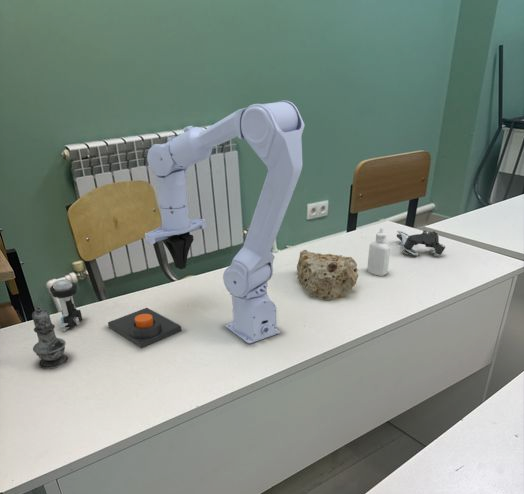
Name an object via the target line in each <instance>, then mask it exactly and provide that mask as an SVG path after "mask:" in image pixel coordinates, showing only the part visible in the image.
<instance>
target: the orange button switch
mask: <svg viewBox="0 0 524 494" xmlns="http://www.w3.org/2000/svg"><path fill="white" fill-rule="evenodd" d="M140 314H150V315H152V317H153V326H151V327H148V328H137V327H136V324H135V317H136V316H138V315H140ZM107 326H108V329H110V330H112V331H113V332H115V333H116V334H118V335H120V336H121V337H122V338H123V339H125V340H127V341H129V342H131V343H132V344H133V345H135V346H136V347H138V348H140V349H143V348H145V347H148V346H151V345H153V344H155V343H158V342H159V341H162V340H165V339H167V338H169V337H172V336H174V335H176V334H179V333H181V332H182V325H181V324H179V323H176V322H174V321H173V320H171V319H169V318H167V317H166V316H163V315H162V314H160V313H158V312H156V311H155V310H152V309H150V308H148V307H145V308H142V309H139V310H137V311H134V312H131V313H128V314H126V315H124V316H120V317H118V318H116V319H113V320H110V321H108V322H107Z"/></svg>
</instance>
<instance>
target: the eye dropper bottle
mask: <svg viewBox="0 0 524 494" xmlns="http://www.w3.org/2000/svg"><path fill="white" fill-rule="evenodd" d="M386 238H387V233H385V232H384V228H380V229H379V232H377V233H376V235H375V241H372V242H370V244H369V248H368V258H367V268H366V270H367V272H368V273H369V274H372V275H375V276H378V277H383V276H386V275H387V274H388V270H389V261H390V252H391V247H390V246H389V245H388V244H387V243H386Z"/></svg>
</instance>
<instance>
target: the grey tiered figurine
mask: <svg viewBox="0 0 524 494" xmlns="http://www.w3.org/2000/svg"><path fill="white" fill-rule="evenodd" d="M31 317H32V320H33V321H32V322H33V324H34V328H33V332H35V333H36V335H37V339H38V342H37V343H35V344H34V345H33V346H32V351H33V352H34V353H35V354H36V356H37V357H38V358H39V359H41V360H40V361H38V362H39V363H38V365H39V367H40V368H41V369H44V370H45V369H46V370H53V369H57V368H58V367H61V366H63V365H65V364H66V363H68V360H69V356H68V355H66V354H64V353H65V349H66V343H67V342H66V341H65V339H63V338H60V337H57V336H56V332H55V328H56V327H55V324H53V323H52V320H51V316H50V312H49V311H48V310H47V309H44V308H41V306H40V305H37V306H36V310H34V311H32V313H31Z"/></svg>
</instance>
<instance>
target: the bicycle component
mask: <svg viewBox="0 0 524 494" xmlns="http://www.w3.org/2000/svg"><path fill="white" fill-rule="evenodd" d="M396 232H397V234H396V238H397V239H398V240H399V241H400V244H399V249H400V251H401V252H402V253H404V254H406V255H409V256H413V257H414V256H415V257H417V256H419V253H418V252H417V251H416V250H415V249H413V247H414V246H417V245H425V246H424V247H425V248H431V249H430V250H429V252H430V253H431V254H433V256H434V257H438V256H441V255H442V254H443V252H444V251H445V249H446V245H444V244H442V243H440V240H439V238H440V237H439V235H438V232H436V231H428V232H427V230H423V231H422V233H417V234H411V235H409V234H408V233H407V232H404V231H401V230H397V231H396Z"/></svg>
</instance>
